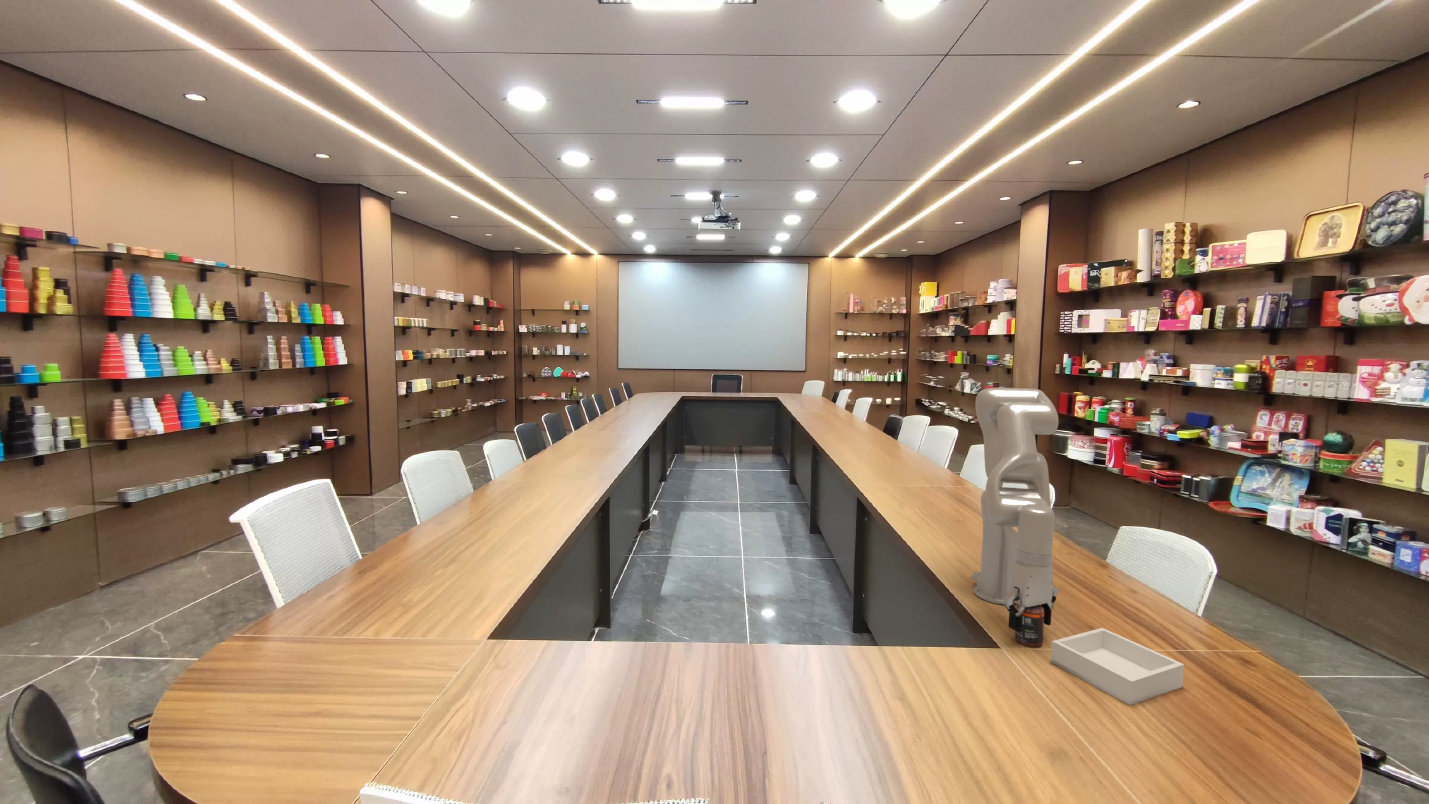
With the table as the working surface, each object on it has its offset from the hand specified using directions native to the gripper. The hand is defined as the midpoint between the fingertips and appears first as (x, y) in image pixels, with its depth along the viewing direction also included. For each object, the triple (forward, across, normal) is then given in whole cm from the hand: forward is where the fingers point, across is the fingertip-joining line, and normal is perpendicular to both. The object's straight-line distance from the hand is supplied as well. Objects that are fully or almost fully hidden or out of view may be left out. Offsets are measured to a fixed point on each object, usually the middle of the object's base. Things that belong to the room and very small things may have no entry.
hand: (1029, 626), depth 138 cm
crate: (+4, -5, +17) cm, 18 cm away
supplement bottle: (+4, 0, 0) cm, 4 cm away
